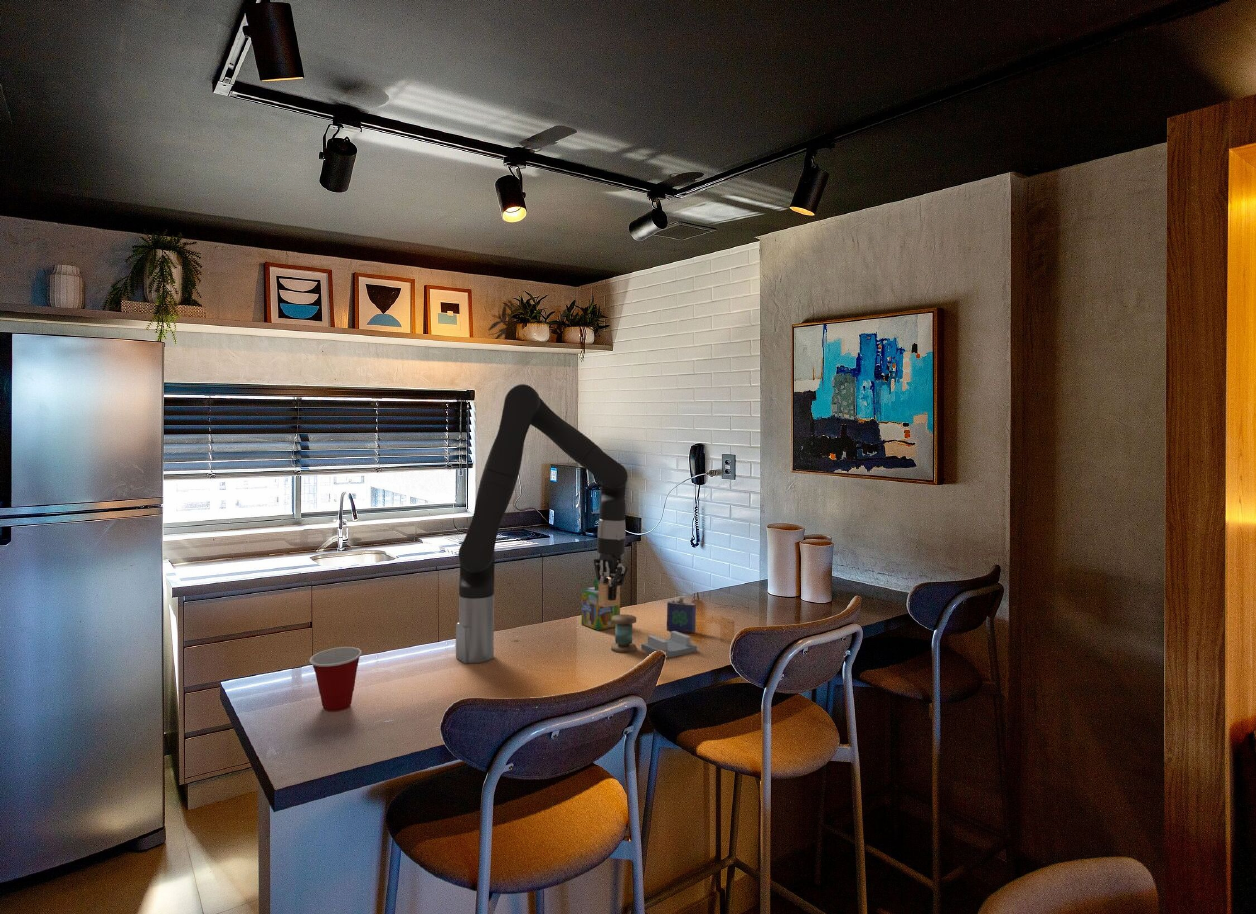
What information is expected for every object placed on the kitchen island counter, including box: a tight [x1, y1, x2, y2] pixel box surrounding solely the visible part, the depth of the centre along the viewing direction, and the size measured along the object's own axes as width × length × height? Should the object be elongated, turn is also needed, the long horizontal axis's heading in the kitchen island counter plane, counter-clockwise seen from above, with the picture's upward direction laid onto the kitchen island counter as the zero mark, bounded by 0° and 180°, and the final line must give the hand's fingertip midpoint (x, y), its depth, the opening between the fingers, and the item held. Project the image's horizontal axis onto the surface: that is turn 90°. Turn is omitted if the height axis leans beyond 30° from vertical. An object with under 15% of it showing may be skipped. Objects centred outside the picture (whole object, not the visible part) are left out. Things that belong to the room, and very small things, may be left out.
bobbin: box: [610, 613, 637, 654], centre depth 209 cm, size 7×7×9 cm
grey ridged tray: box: [640, 631, 698, 659], centre depth 209 cm, size 12×10×4 cm
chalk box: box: [580, 578, 621, 631], centre depth 234 cm, size 9×9×15 cm
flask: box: [666, 596, 697, 635], centre depth 228 cm, size 9×3×11 cm, turn 68°
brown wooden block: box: [598, 580, 621, 607], centre depth 202 cm, size 5×3×6 cm, turn 125°
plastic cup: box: [309, 646, 363, 713], centre depth 164 cm, size 11×11×12 cm
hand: (608, 598), depth 202 cm, fingers closed on brown wooden block, 2 cm apart
